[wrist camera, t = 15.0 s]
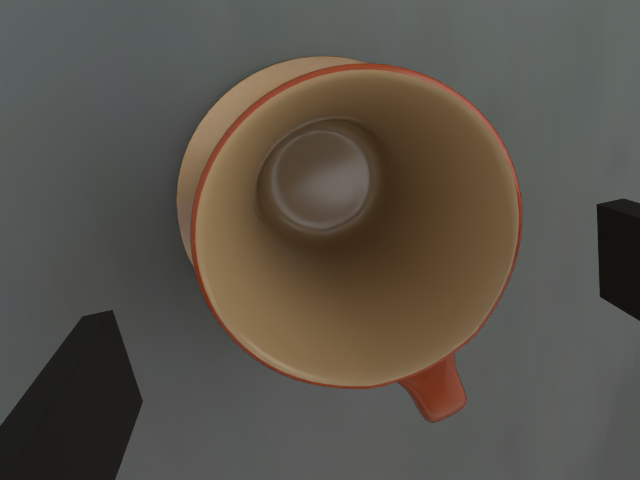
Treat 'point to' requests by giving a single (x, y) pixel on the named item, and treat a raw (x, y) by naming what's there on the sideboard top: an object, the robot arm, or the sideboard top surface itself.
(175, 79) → the sideboard top surface
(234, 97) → the tan round disc
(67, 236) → the sideboard top surface
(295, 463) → the sideboard top surface
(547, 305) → the sideboard top surface
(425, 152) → the mug
